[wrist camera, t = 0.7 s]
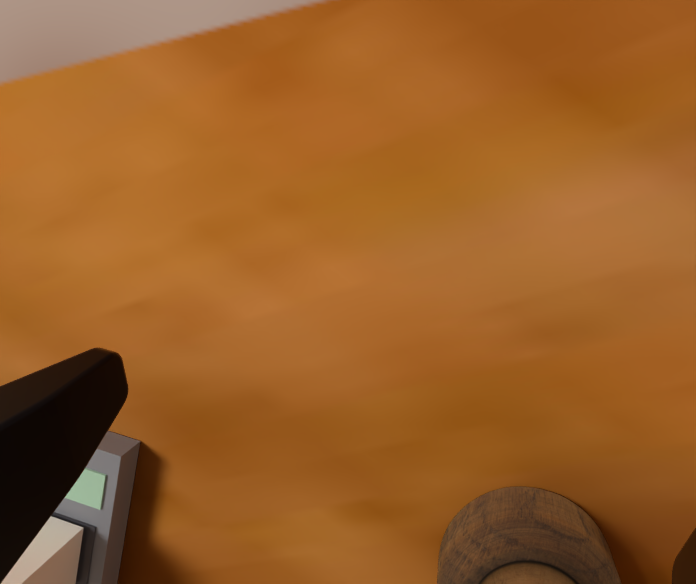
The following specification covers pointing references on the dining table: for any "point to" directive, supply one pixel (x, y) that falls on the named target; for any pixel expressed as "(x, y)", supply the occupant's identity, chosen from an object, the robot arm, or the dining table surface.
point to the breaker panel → (102, 508)
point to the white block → (49, 556)
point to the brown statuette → (524, 542)
